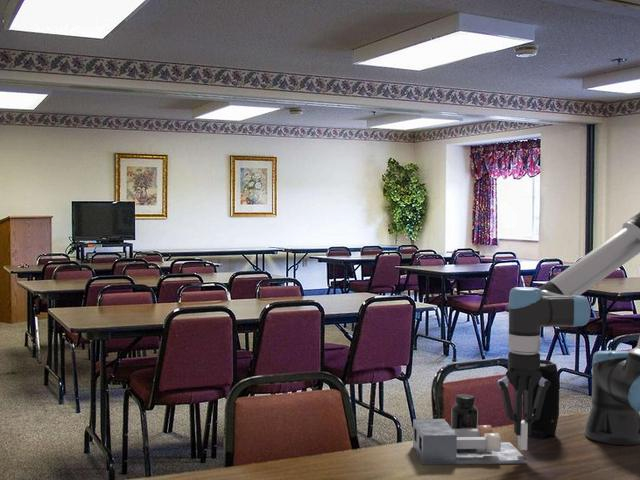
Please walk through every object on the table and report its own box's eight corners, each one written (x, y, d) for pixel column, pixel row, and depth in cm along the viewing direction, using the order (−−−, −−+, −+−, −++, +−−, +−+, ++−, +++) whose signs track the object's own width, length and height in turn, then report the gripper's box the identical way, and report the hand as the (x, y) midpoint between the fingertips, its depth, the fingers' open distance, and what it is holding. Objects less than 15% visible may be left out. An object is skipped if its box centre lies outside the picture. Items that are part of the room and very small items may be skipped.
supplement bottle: (466, 447, 194) (466, 400, 193) (445, 441, 199) (445, 395, 198) (482, 442, 198) (483, 396, 198) (461, 436, 203) (462, 391, 203)
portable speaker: (563, 438, 201) (564, 365, 200) (528, 439, 200) (529, 365, 200) (551, 429, 210) (552, 358, 209) (517, 430, 209) (518, 359, 208)
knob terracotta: (488, 440, 194) (488, 422, 194) (492, 445, 190) (493, 427, 189) (437, 440, 193) (437, 423, 193) (440, 446, 189) (441, 428, 189)
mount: (509, 445, 196) (510, 418, 195) (527, 463, 182) (527, 434, 181) (412, 446, 194) (413, 419, 194) (422, 464, 180) (423, 435, 180)
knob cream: (495, 448, 187) (495, 430, 187) (500, 454, 183) (501, 436, 182) (443, 449, 186) (443, 431, 186) (446, 455, 182) (447, 436, 182)
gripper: (545, 348, 188) (543, 443, 189) (493, 348, 187) (491, 443, 188) (556, 354, 181) (554, 452, 182) (501, 354, 180) (500, 453, 181)
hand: (522, 448), depth 185 cm, fingers closed
